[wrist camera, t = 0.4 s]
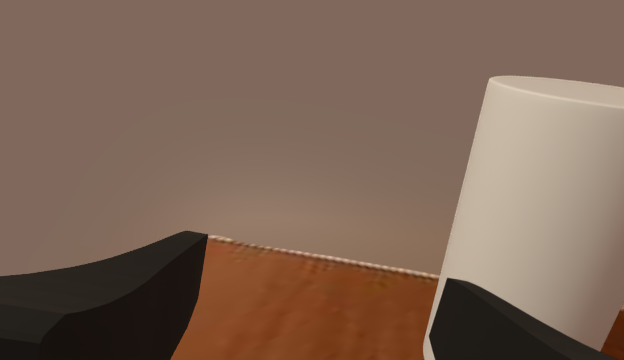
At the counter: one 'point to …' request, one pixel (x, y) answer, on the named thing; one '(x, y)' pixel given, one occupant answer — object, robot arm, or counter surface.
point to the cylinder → (544, 205)
